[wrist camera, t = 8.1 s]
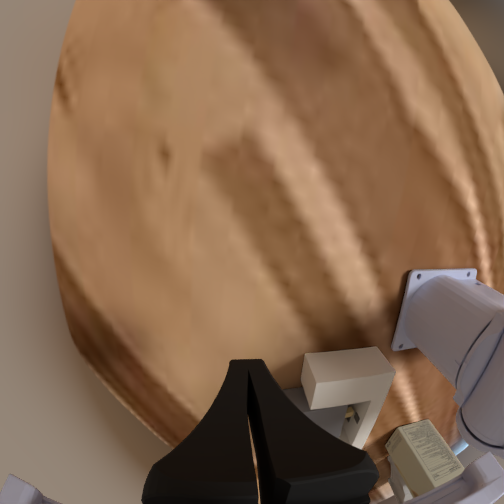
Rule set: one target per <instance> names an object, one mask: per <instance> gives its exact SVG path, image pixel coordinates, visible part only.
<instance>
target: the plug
mask: <svg viewBox="0 0 504 504" xmlns="http://www.w3.org/2000/svg"><path fill="white" fill-rule="evenodd" d="M283 392H284V393H285V394H286V395H287V396H288V398H289V399H290V400H291V401H292V402H293V403H294V404H295V405H296V406H297V407H298V408H299V409H300V410H301V411H302V412H303V413H304V414H305V415H306V416H307V417H308V418H310V419H311V420H312V421H313V422H315V423H316V424H317V425H318V426H320V427H321V428H323V429H324V430H326V431H327V432H329V433H330V434H332V435H333V436H335V437H336V438H337V437H340V434H341V430H342V427H343V423H344V419H345V418H347V417H351V416H353V413H354V411H353V409H352V407H348V405H342V406H336V407H329V408H321V409H312V410H310V407H309V404H308V401H307V398H306V395H305V392H304V389H303V387H300V388H292V389H284V390H283ZM347 407H348V408H347Z"/></svg>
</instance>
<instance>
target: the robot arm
mask: <svg viewBox="0 0 504 504" xmlns="http://www.w3.org/2000/svg"><path fill="white" fill-rule="evenodd" d="M418 274H419V276H418V277H417V275H418ZM476 275H477V270H476V269H474V268H462V269H426V270H412V271H410V273H409V275H408V280H407V285H406V289H405V294H404V299H403V303H402V307H401V311H400V315H399V319H398V323H397V327H396V330H395V334H394V338H393V341H392V344H391V349H392V350H393V351H399V350H405V349H411V348H416V347H417V348H418V349H419V350H420V351H421V352H422V353H423V354H424V355H425V356H426V357H427V358H428V359H429V360H430V361H431V362H432V363H433V365H434V366H435V367H436V368H437V369H438V370H439V371H440V372H441V373H442V374H443V375H444V376H445V377H446V379H447V380H448V381H449V382H450V383H451V384H452V385H453V386H454V387H455V388H456V393H455V395H454V397H453V399H454V400H455V402H456V403H457V404H458V405H459V406H460V407H459V408H458V410H457V413H456V423H457V427H458V429H459V432H460V434H461V436H462V437H463V439H464V440H465V441H466V442H467V444H469V445H470V446H471V447H472V448H474V449H476V450H478V451H480V452H484V453H486V454H484V455H482V456H481V457H480V458H478V459H476V460H475V461H473V462H472V463H471V464H469V465H468V466H467V467H466V468H465V469H464V471H463V472H462V474H460V475H459V476H457V477H455V478H453V479H452V480H450V481H448V482H446V483H444V484H442V485H440V486H438V487H436V488H434V489H432V490H430V491H428V492H426V493H424V494H422V495H420V496H417V497H415V498H413V499H410V500H408V501H406V502H403V503H401V504H493V503H495V502H496V501H497V500H498V499H499V498H500V497H501V496H503V495H504V470H503V468H502V467H501V466H500V464H499V463H498V462H497V460H496V459H495V458H494V456H493V455H496V456H499V457H501V458H503V459H504V295H503V294H501V293H499V292H498V291H496V290H494V289H492V288H490V287H489V286H487V285H485V284H483V283H481V282H480V281H478V280H476ZM248 417H249V423H250V428H251V433H252V438H253V443H254V448H255V453H256V459H257V468H258V479H259V491H260V502H261V504H369V503H370V498H369V495H368V492H369V491H370V490H371V489H372V487H373V486H374V485H375V483H376V482H377V480H378V478H379V472H378V470H377V468H376V466H375V464H374V462H373V461H372V459H371V458H370V456H369V455H368V453H367V452H366V451H364V450H361V449H359V448H357V447H354V446H352V445H350V444H348V443H346V442H344V441H342V440H340V439H338V438H336V437H335V436H333V435H332V434H330V433H329V432H327V431H326V430H324V429H323V428H321V427H320V426H318V425H317V424H316V423H315V422H313V421H312V420H311V419H310V418H308V417H307V416H306V415H305V414H304V413H303V412H302V411H301V410H300V409H299V408H298V407H297V406H296V405H295V404H294V403H293V402H292V401H291V400H290V399H289V398H288V396H287V395H286V394H285V393H284V392H283V390H282V389H281V388H280V386H279V385H278V384H277V382H276V381H275V379H274V378H273V376H272V375H271V373H270V372H269V370H268V368H267V366H266V364H265V362H264V361H263V360H262V359H240V360H231V361H230V363H229V368H228V372H227V375H226V378H225V380H224V382H223V385H222V387H221V389H220V391H219V393H218V395H217V397H216V399H215V400H214V402H213V404H212V405H211V407H210V409H209V410H208V412H207V413H206V415H205V416H204V417H203V419H202V420H201V421H200V423H199V424H198V425H197V426H196V427H195V429H194V430H193V431H192V432H191V433H190V434H189V435H188V436H187V437H186V438H185V439H184V440H183V441H182V442H181V443H180V444H179V445H178V446H177V447H176V448H175V449H173V450H172V451H171V452H170V453H169V454H167V455H166V456H165V457H163V458H162V459H160V460H159V461H158V462H156V463H155V464H154V465H153V466H152V469H151V470H150V472H149V474H148V476H147V479H146V482H145V485H144V489H143V494H142V499H141V501H142V503H143V504H258V488H257V480H256V474H255V468H254V462H253V456H252V448H251V441H250V433H249V425H248ZM492 454H493V455H492ZM0 504H61V503H59V502H57V501H54V500H52V499H49V498H47V497H45V496H43V494H42V493H41V492H40V491H39V490H38V489H37V488H35V487H34V486H32V485H31V484H29V483H27V482H25V481H24V480H22V479H20V478H18V477H16V476H14V475H12V474H9V476H8V478H7V480H6V482H5V484H4V486H3V488H2V490H1V492H0Z"/></svg>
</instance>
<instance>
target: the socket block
mask: <svg viewBox="0 0 504 504" xmlns="http://www.w3.org/2000/svg"><path fill="white" fill-rule="evenodd" d="M395 373H396V371H395V369H394V368H393V367H392V365H391V364H390V363H389V361H388V360H387V359H386V358H385V356H384V355H383V354H382V352H381V351H380V350H379V349H378V347H377V346H375V347H367V348H359V349H350V350H340V351H329V352H317V353H305V355H304V361H303V368H302V374H301V382H302V385H303V389H304V392H305V395H306V398H307V401H308V404H309V407H310V410H312V409H321V408H329V407H336V406H342V405H348V407H352V409H353V411H354V413H353V416H351V417H347V418H345V419H344V423H343V427H342V430H341V434H340V437H337V438H338V439H340V440H342V441H344V442H346V443H348V444H350V445H352V446H354V447H357V448H359V449H362V447H363V446H364V444H365V442H366V440H367V438H368V436H369V434H370V432H371V430H372V427H373V425H374V423H375V421H376V419H377V417H378V414H379V412H380V410H381V408H382V405H383V403H384V401H385V398H386V396H387V393H388V391H389V388H390V386H391V383H392V381H393V378H394V375H395ZM348 407H347V408H348Z"/></svg>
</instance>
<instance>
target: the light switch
mask: <svg viewBox="0 0 504 504" xmlns="http://www.w3.org/2000/svg"><path fill="white" fill-rule="evenodd" d="M388 461H389V462H390V464H391V478H388V482H389V484H390V486H391V488H392V490H393V493H394V495H395V497H396V499H397V501H398V503H399V504H401V503H403V502H406V501H408V500H410V499H413V497H412V495H411V493H410V491H409V489H408V488H407V486H406V484H405V482H404V480H403V478H402V477H401V475H400V473H399V471H398V469H397V467H396V466H395V464H394V462H393V460H392V458H391V456H388Z"/></svg>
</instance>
